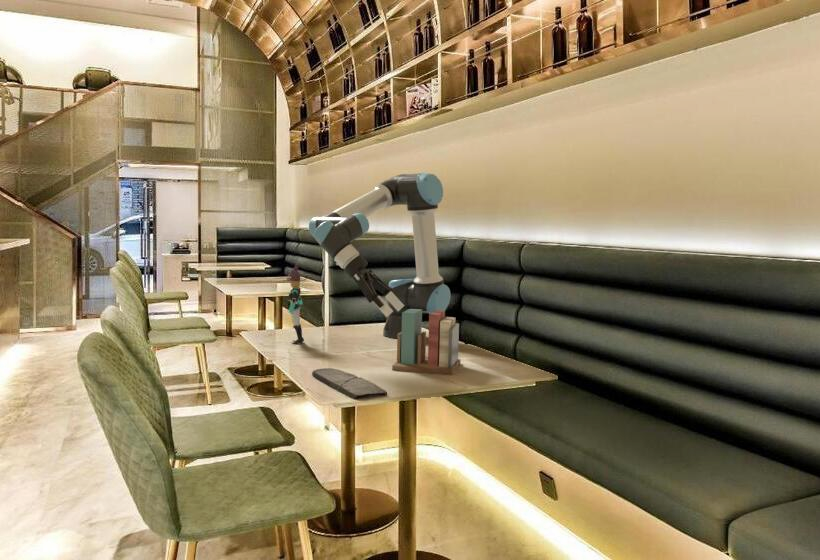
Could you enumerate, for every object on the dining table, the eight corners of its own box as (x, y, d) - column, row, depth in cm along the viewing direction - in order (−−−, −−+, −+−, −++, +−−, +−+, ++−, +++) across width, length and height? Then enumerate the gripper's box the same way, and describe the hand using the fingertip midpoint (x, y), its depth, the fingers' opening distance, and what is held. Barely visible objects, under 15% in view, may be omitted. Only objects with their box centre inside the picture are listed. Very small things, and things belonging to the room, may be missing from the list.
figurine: (286, 338, 238) (286, 260, 235) (309, 338, 238) (310, 261, 235) (276, 348, 218) (277, 263, 215) (302, 348, 218) (303, 264, 215)
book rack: (405, 359, 204) (406, 307, 202) (460, 363, 199) (462, 310, 198) (392, 370, 188) (393, 313, 187) (451, 374, 184) (453, 317, 182)
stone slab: (340, 365, 185) (390, 384, 159) (340, 376, 185) (390, 396, 159) (308, 369, 179) (354, 390, 154) (308, 380, 179) (354, 402, 154)
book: (408, 357, 200) (410, 308, 199) (420, 358, 199) (421, 309, 198) (400, 363, 190) (402, 312, 189) (413, 364, 189) (414, 313, 188)
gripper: (356, 267, 209) (397, 313, 207) (329, 272, 185) (376, 325, 183) (371, 252, 207) (413, 299, 205) (346, 255, 183) (393, 308, 181)
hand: (395, 311), depth 194 cm, fingers open, 13 cm apart
